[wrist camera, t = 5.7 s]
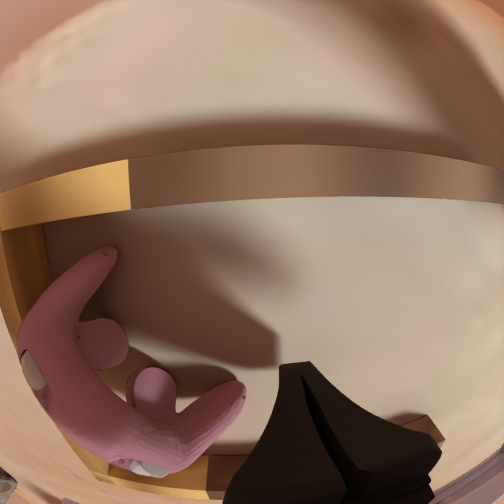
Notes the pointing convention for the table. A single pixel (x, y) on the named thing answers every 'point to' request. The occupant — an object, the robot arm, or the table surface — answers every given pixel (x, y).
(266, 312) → the table surface
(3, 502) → the mineral rock
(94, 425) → the video game controller
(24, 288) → the bay
